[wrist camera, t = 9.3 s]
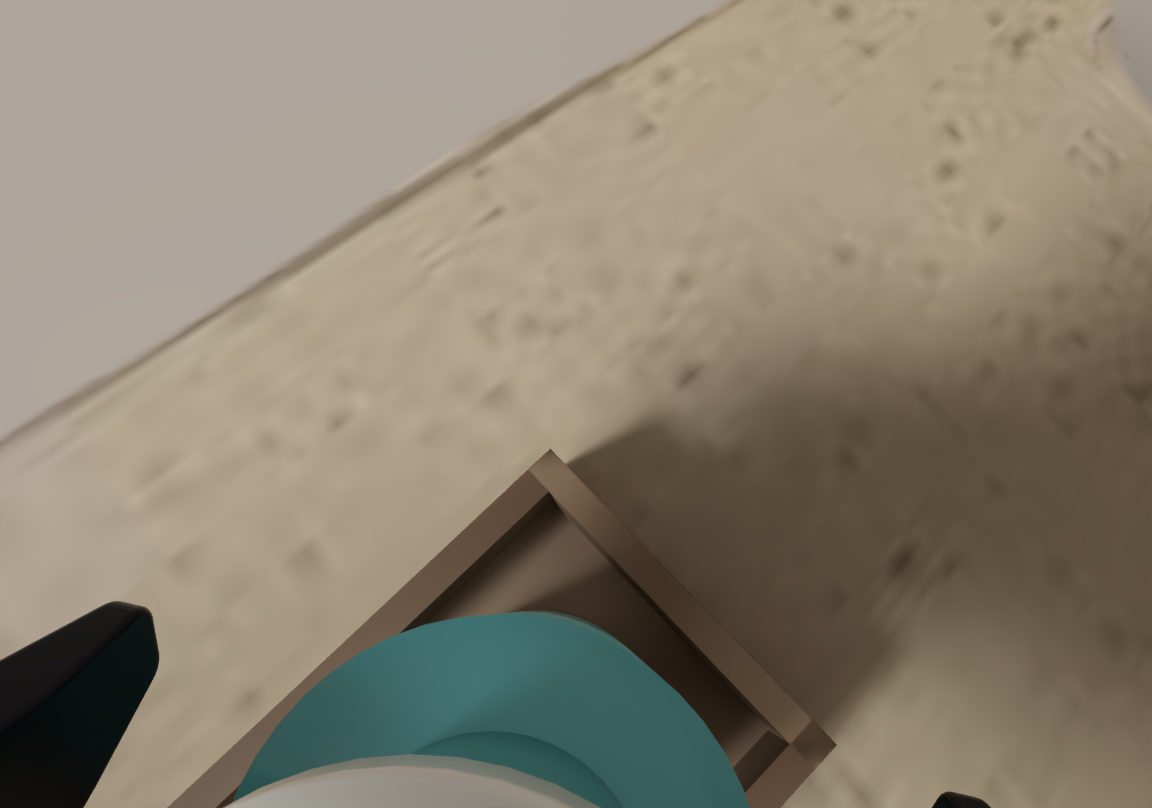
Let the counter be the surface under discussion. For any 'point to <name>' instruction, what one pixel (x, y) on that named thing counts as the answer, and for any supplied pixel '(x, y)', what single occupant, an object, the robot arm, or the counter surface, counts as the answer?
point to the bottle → (493, 726)
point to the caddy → (593, 591)
